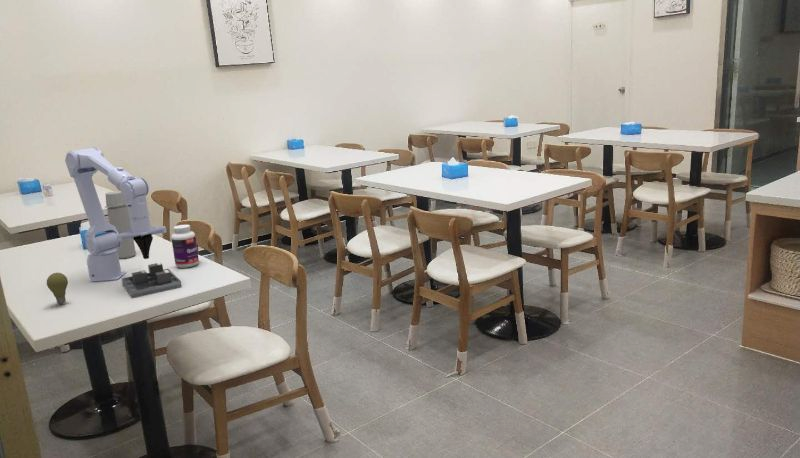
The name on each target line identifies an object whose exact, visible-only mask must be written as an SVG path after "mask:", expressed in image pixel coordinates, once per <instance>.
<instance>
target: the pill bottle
mask: <svg viewBox="0 0 800 458" xmlns="http://www.w3.org/2000/svg"><path fill="white" fill-rule="evenodd" d="M173 232H174V233H172V235H171V238H170V239H171V244H172V245H171V247H172V253H173V258H174V264H175V267H177V268H179V269H187V268H193V267H195V266H198V264H199V262H200V259H199V251H198V245H197V238H196V237H197V236H196V233H195V232H194V231H192V230H191V225H190V224H178V225H176V226H174V227H173Z"/></svg>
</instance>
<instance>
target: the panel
mask: <svg viewBox="0 0 800 458" xmlns="http://www.w3.org/2000/svg"><path fill="white" fill-rule="evenodd" d="M164 270H168V271H169V272H170V275H171V281H172V282H171V283H167V284H162V285H157V281H156V276H153V277H150V274H149V272H147V278H148V283H143V284H139V285H134V283H133V277H132V275H131V276H127V277H126V276H125V277H120V278H121V284H122V286H123V287H124V288H125V290H126V291H127V293H128V295H129V296H130V297H131V299H134V298H138V297H139V298H140V297H142V296H148V295H152V294H157V293H161V292H165V291H169V290H174V289H179V288H182V281H181V280H180V279H179V277H178V276H176V274H175V273H173V272H172V270H170V268H166V269H164V268H163V271H164Z"/></svg>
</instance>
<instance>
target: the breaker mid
mask: <svg viewBox="0 0 800 458" xmlns="http://www.w3.org/2000/svg"><path fill="white" fill-rule="evenodd" d="M147 273H148V272H147V271H146V270H145V269H142V270H139V271H135V272H131V276H132V277H133V283H134V285H139V284H143V283H148V278H147Z"/></svg>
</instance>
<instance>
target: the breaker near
mask: <svg viewBox="0 0 800 458" xmlns="http://www.w3.org/2000/svg"><path fill="white" fill-rule="evenodd" d="M163 270H164V269H163ZM155 275H156V281H157V285H162V284H167V283H171V282H172V281H171V275H170V272H169V271H168V270H164V271H162V272H157V273H155Z"/></svg>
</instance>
